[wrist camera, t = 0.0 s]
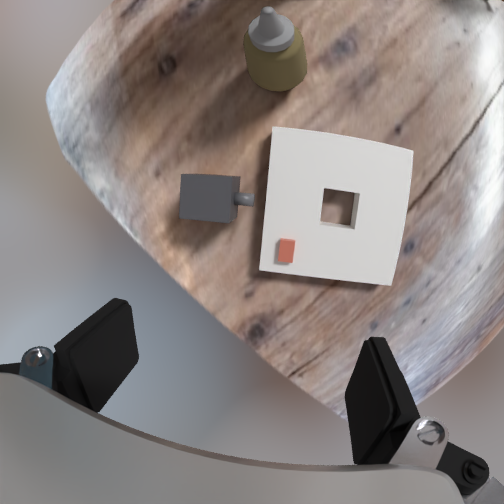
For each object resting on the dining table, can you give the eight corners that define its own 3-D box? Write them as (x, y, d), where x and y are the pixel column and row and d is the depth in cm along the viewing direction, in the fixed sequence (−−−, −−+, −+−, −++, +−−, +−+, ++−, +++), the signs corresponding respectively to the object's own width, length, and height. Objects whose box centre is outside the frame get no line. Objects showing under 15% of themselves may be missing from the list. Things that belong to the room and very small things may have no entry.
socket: (274, 130, 36) (272, 125, 32) (405, 152, 34) (416, 150, 30) (261, 263, 42) (258, 272, 38) (385, 278, 39) (393, 288, 36)
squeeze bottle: (269, 108, 35) (251, 59, 18) (241, 67, 34) (207, 6, 17) (316, 84, 33) (332, 24, 16) (287, 45, 32) (281, -26, 15)
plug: (199, 210, 41) (179, 218, 33) (201, 173, 39) (181, 173, 32) (256, 215, 40) (248, 225, 32) (260, 177, 38) (252, 178, 31)
